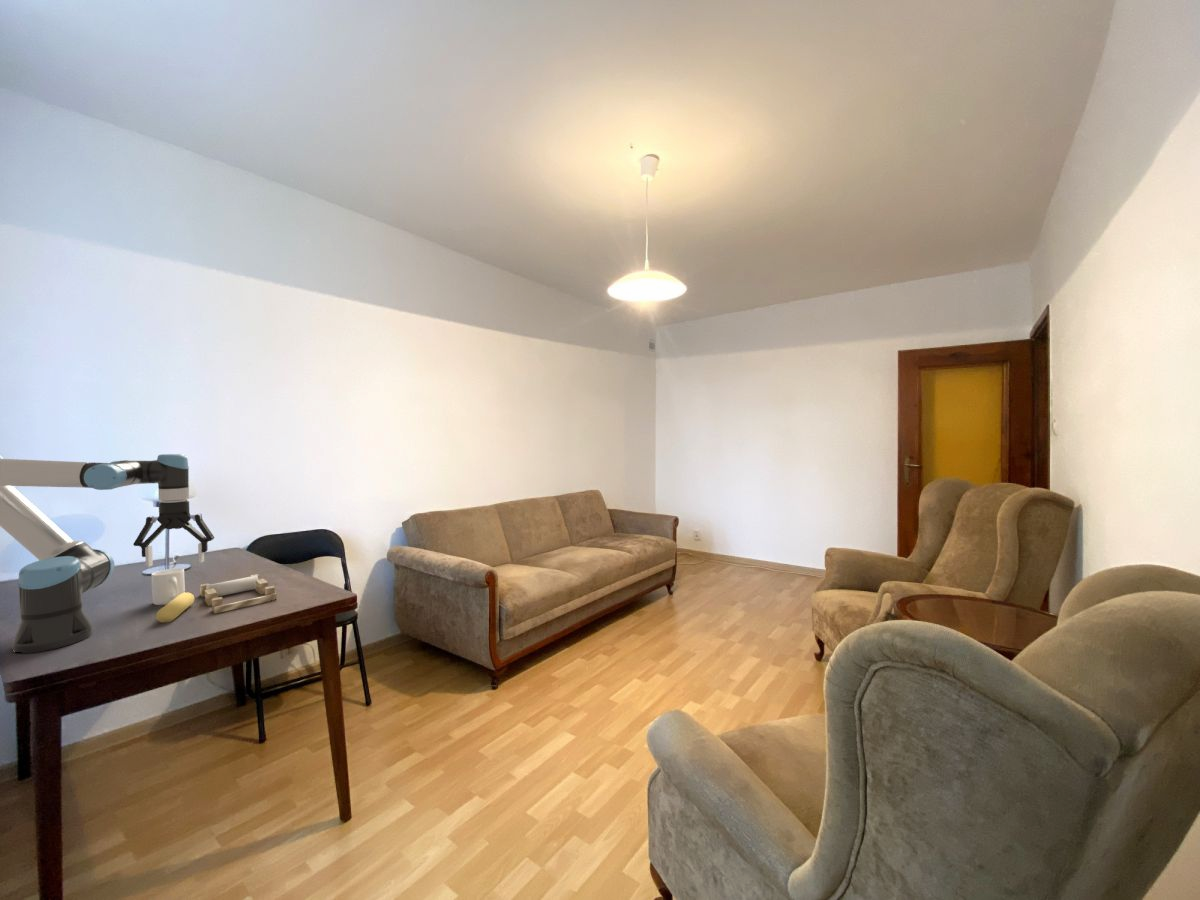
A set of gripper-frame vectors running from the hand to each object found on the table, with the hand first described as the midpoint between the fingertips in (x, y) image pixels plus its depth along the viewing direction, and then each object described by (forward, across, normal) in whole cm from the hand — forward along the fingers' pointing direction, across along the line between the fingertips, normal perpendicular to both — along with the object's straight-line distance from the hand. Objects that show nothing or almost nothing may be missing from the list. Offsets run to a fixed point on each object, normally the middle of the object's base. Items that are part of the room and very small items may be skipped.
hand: (175, 564), depth 157 cm
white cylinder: (+17, -11, -16) cm, 26 cm away
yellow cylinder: (+17, 0, 0) cm, 17 cm away
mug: (+17, +6, -14) cm, 23 cm away
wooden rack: (+16, -14, -10) cm, 24 cm away
